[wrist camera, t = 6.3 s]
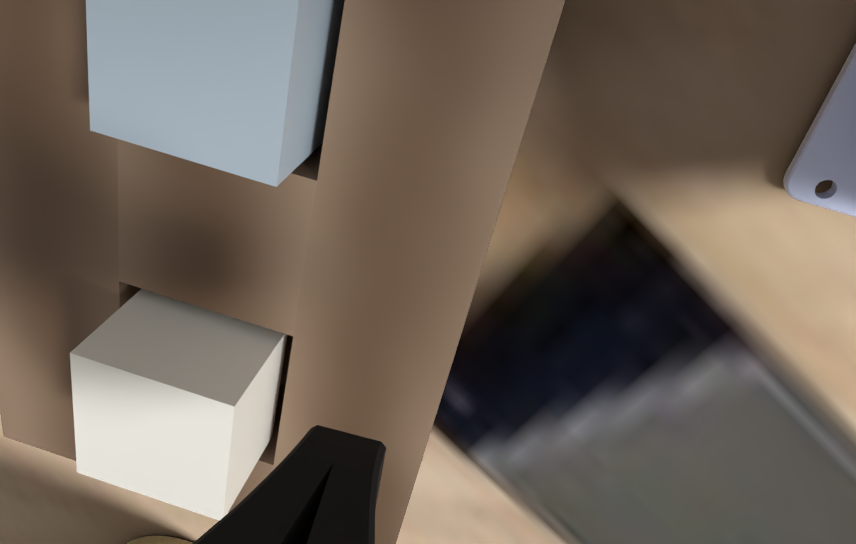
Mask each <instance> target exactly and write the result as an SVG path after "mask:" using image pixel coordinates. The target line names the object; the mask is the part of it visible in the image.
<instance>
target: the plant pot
mask: <svg viewBox="0 0 856 544" xmlns="http://www.w3.org/2000/svg"><path fill="white" fill-rule="evenodd" d="M126 544H193V542H190V541H186V540H183V539H179V538H174V537H169V536H145V537H140V538H137V539H134V540H131V541H129V542H128V543H126Z"/></svg>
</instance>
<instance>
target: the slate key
mask: <svg viewBox="0 0 856 544" xmlns="http://www.w3.org/2000/svg"><path fill="white" fill-rule="evenodd" d="M344 2H345V0H86V23H87V53H88V83H89V112H90V131H94V132H97V133H100V134H104V135H107V136H110V137H113V138H117V139H120V140H123V141H127V142H130V143H133V144H137V145H140V146H143V147H146V148H150V149H153V150H156V151H160V152H163V153H166V154H169V155H173V156H176V157H179V158H183V159H186V160H189V161H193V162H196V163H199V164H202V165H206V166H209V167H212V168H216V169H219V170H222V171H226V172H229V173H232V174H235V175H239V176H242V177H245V178H249V179H252V180H255V181H259V182H262V183H265V184H268V185H272V186H275V187H277V186H278V185H279V184H280V183H281V182H282V181H283V180H284V179H285V178H286V177H287V176H288V175H290V174H291V173H292V172H293V171H294V170H295V169H296V168H297V167H298V166H299V165H300V164H301V163H302V162H303V161H304V160H305V159H306V158H307V157H308V156H309V155H310V154H312V153H313V152H314V151H315V150H316V149H317V148H318V147H319V146H320V145H321V144H322V143H323V139H324V132H325V126H326V119H327V113H328V106H329V100H330V93H331V87H332V80H333V74H334V67H335V60H336V54H337V47H338V41H339V34H340V28H341V21H342V15H343V8H344Z"/></svg>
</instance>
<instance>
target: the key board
mask: <svg viewBox="0 0 856 544" xmlns="http://www.w3.org/2000/svg"><path fill="white" fill-rule="evenodd" d="M564 3H565V0H345V2H344V8H343V15H342V21H341V28H340V34H339V41H338V47H337V54H336V60H335V67H334V74H333V80H332V87H331V93H330V100H329V106H328V113H327V119H326V126H325V132H324V139H323V143H322V144H321V145H320V146H319V147H318V148H317V149H316V150H315V151H314V152H313V153H312V154H310V155H309V156H308V157H307V158H306V159H305V160H304V161H303V162H302V163H301V164H300V165H299V166H298V167H297V168H296V169H295V170H294V171H293V172H292V173H291V174H290V175H288V176H287V177H286V178H285V179H284V180H283V181H282V182H281V183H280V184H279V185H278V186H277V187H275V186H272V185H268V184H265V183H262V182H259V181H255V180H252V179H249V178H245V177H242V176H239V175H235V174H232V173H229V172H226V171H222V170H219V169H216V168H212V167H209V166H206V165H202V164H199V163H196V162H193V161H189V160H186V159H183V158H179V157H176V156H173V155H169V154H166V153H163V152H160V151H156V150H153V149H150V148H146V147H143V146H140V145H137V144H133V143H130V142H127V141H123V140H120V139H117V138H113V137H110V136H107V135H104V134H100V133H97V132H94V131H90V112H89V83H88V53H87V23H86V0H0V414H1V421H2V428H3V436H4V437H7V438H10V439H13V440H16V441H19V442H22V443H25V444H28V445H31V446H34V447H37V448H40V449H43V450H46V451H49V452H51V453H54V454H57V455H60V456H63V457H66V458H69V459H72V460H75V461H76V447H75V431H74V414H73V398H72V381H71V365H70V352H71V351H72V350H74V349H75V348H76V347H77V346H78V345H79V344H80V343H81V342H83V341H84V340H85V339H86V338H87V337H88V336H89V335H90V334H91V333H93V332H94V331H95V330H96V329H97V328H98V327H99V326H100V325H102V324H103V323H104V322H105V321H106V320H107V319H108V318H109V317H110V316H112V315H113V314H114V313H115V312H116V311H117V310H118V309H119V308H121V307H122V306H123V305H124V304H125V303H126V302H127V301H128V300H129V299H131V298H132V297H133V296H134V295H135V294H136V293H137V292H138V291H140V290H141V289H145V290H148V291H151V292H155V293H158V294H161V295H164V296H167V297H170V298H173V299H177V300H180V301H183V302H186V303H189V304H192V305H196V306H199V307H202V308H205V309H208V310H211V311H214V312H218V313H221V314H224V315H227V316H230V317H233V318H236V319H240V320H243V321H246V322H249V323H252V324H255V325H259V326H262V327H265V328H268V329H271V330H274V331H277V332H281V333H284V334H287V340H286V347H285V353H284V360H283V367H282V374H281V381H280V387H279V394H278V401H277V408H276V414H275V421H274V428H273V435H272V438H271V439H270V441H269V443H268V444H267V446H266V448H265V450H264V451H263V453H262V455H261V456H260V458H259V460H258V462H257V463H256V465H255V467H254V469H253V470H252V472H251V474H250V475H249V477H248V479H247V481H246V482H245V484H244V486H243V487H242V489H241V491H240V493H239V494H238V496H237V498H236V499H235V501H234V503H233V505H232V506H231V508H230V510H229V511H228V512H230V511H231V510H232V509H234V508H235V507H236V506H237V505H238V504H239V503H240V502H241V501H242V500H243V499H244V498H245V497H246V496H247V495H248V494H249V493H250V492H252V491H253V490H254V489H255V488H256V487H257V486H258V485H259V484H260V483H261V482H262V481H263V480H264V479H265V478H266V477H267V476H268V475H269V474H270V473H271V472H272V471H273V470H274V469H275V468H276V467H277V466H278V465H279V464H280V463H281V462H282V461H283V460H284V458H285V457H286V456H287V455H288V454H289V453H290V452H291V451H292V450H293V449H294V448H295V446H296V445H297V444H298V443H299V442H300V441H301V439H302V438H303V437H304V436H305V435H306V433H307V432H308V431H309V430H310V429H311V428H312V427H314V426H316V425H320V426H324V427H328V428H331V429H335V430H339V431H343V432H347V433H350V434H354V435H358V436H362V437H366V438H370V439H373V440H377V441H381V442H382V443H383V444H384V446H385V447H386V453H385V458H384V464H383V469H382V475H381V481H380V486H379V492H378V497H377V503H376V508H375V544H396V541H397V538H398V535H399V531H400V528H401V525H402V522H403V519H404V515H405V512H406V509H407V506H408V503H409V499H410V496H411V493H412V490H413V487H414V483H415V480H416V477H417V474H418V471H419V467H420V464H421V461H422V458H423V455H424V451H425V448H426V445H427V442H428V439H429V435H430V432H431V429H432V426H433V423H434V419H435V416H436V413H437V410H438V407H439V403H440V400H441V397H442V394H443V391H444V387H445V384H446V381H447V378H448V375H449V371H450V368H451V365H452V362H453V359H454V355H455V352H456V349H457V346H458V343H459V339H460V336H461V333H462V330H463V327H464V323H465V320H466V317H467V314H468V311H469V307H470V304H471V301H472V298H473V295H474V291H475V288H476V285H477V282H478V279H479V275H480V272H481V269H482V266H483V263H484V259H485V256H486V253H487V250H488V247H489V243H490V240H491V237H492V234H493V231H494V227H495V224H496V221H497V218H498V215H499V211H500V208H501V205H502V202H503V199H504V195H505V192H506V189H507V186H508V183H509V179H510V176H511V173H512V170H513V167H514V163H515V160H516V157H517V154H518V151H519V147H520V144H521V141H522V138H523V135H524V131H525V128H526V125H527V122H528V119H529V115H530V112H531V109H532V106H533V103H534V99H535V96H536V93H537V90H538V87H539V83H540V80H541V77H542V74H543V71H544V67H545V64H546V61H547V58H548V55H549V51H550V48H551V45H552V42H553V39H554V35H555V32H556V29H557V26H558V23H559V19H560V16H561V13H562V10H563V7H564Z"/></svg>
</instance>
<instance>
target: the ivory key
mask: <svg viewBox="0 0 856 544" xmlns="http://www.w3.org/2000/svg"><path fill="white" fill-rule="evenodd" d="M286 340H287V334H284V333H281V332H277V331H274V330H271V329H268V328H265V327H262V326H259V325H255V324H252V323H249V322H246V321H243V320H240V319H236V318H233V317H230V316H227V315H224V314H221V313H218V312H214V311H211V310H208V309H205V308H202V307H199V306H196V305H192V304H189V303H186V302H183V301H180V300H177V299H173V298H170V297H167V296H164V295H161V294H158V293H155V292H151V291H148V290H145V289H141V290H140V291H138V292H137V293H136V294H135V295H134V296H133V297H132V298H131V299H129V300H128V301H127V302H126V303H125V304H124V305H123V306H122V307H121V308H119V309H118V310H117V311H116V312H115V313H114V314H113V315H112V316H110V317H109V318H108V319H107V320H106V321H105V322H104V323H103V324H102V325H100V326H99V327H98V328H97V329H96V330H95V331H94V332H93V333H91V334H90V335H89V336H88V337H87V338H86V339H85V340H84V341H83V342H81V343H80V344H79V345H78V346H77V347H76V348H75V349H74V350H72V351H71V352H70V365H71V381H72V398H73V414H74V431H75V447H76V464H77V473H80V474H83V475H86V476H89V477H92V478H95V479H98V480H101V481H104V482H107V483H110V484H113V485H116V486H119V487H122V488H125V489H127V490H130V491H133V492H136V493H139V494H142V495H145V496H148V497H151V498H154V499H157V500H160V501H163V502H166V503H169V504H172V505H175V506H178V507H181V508H184V509H187V510H190V511H193V512H196V513H198V514H201V515H204V516H207V517H210V518H213V519H216V520H219V521H220V520H221V519H222V518H223V517H224V516H225V515H227V513H228V511H229V510H230V508H231V506H232V505H233V503H234V501H235V499H236V498H237V496H238V494H239V493H240V491H241V489H242V487H243V486H244V484H245V482H246V481H247V479H248V477H249V475H250V474H251V472H252V470H253V469H254V467H255V465H256V463H257V462H258V460H259V458H260V456H261V455H262V453H263V451H264V450H265V448H266V446H267V444H268V443H269V441H270V439H271V438H272V435H273V428H274V421H275V414H276V408H277V401H278V394H279V387H280V381H281V374H282V367H283V360H284V353H285V347H286Z"/></svg>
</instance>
